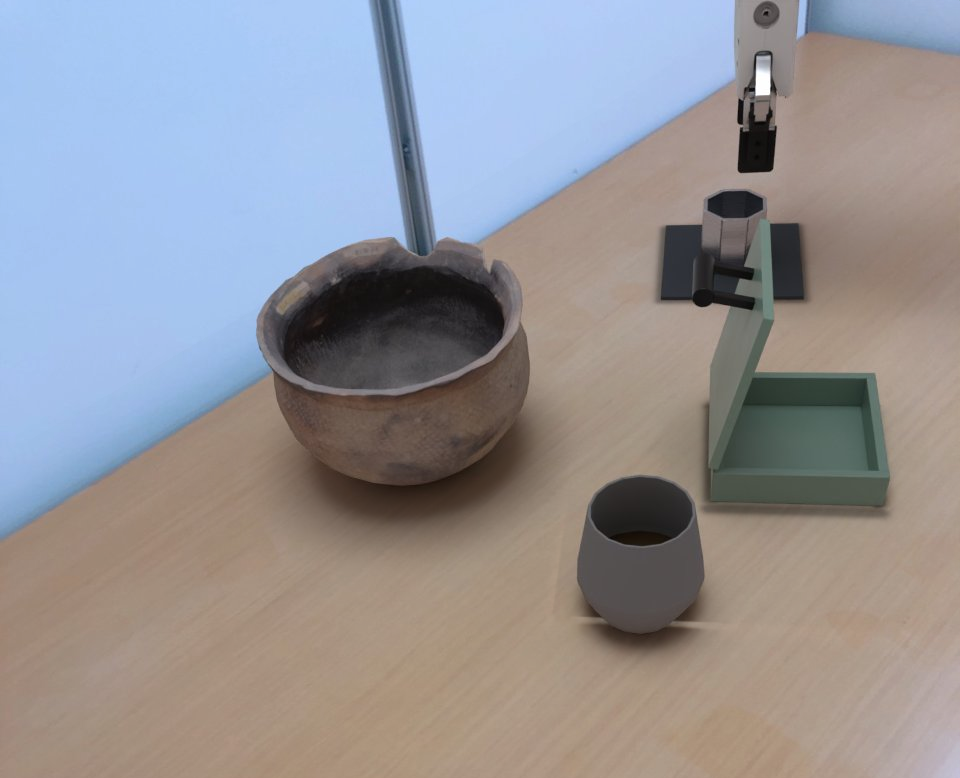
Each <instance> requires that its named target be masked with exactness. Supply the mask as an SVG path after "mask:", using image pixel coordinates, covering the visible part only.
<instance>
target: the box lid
mask: <svg viewBox="0 0 960 778" xmlns="http://www.w3.org/2000/svg"><path fill="white" fill-rule="evenodd" d="M770 224H771V221H770V219H766V220H765V219H760V220H759V223H758V226H757V229H756V232H755V235H754V238H753V241H752V244H751V247H750V250H749V253H748V256H747V259H746V262H745V264H744V266H739V265H733V264H728V263H723V262H717V261H715V260H714V257H713V256H712V255H711V254H708V253H701V254H699V255H698V256H696V258H695V259H694V264H693V290H692V300H691V301H692V303H693V304H694V306H696V307H699V308H707V307H709V306H711V305H712V304H716V305H721V306H727V307H729V309H728V312H727V315H726V318H725V321H724V324H723V327H722V329H721V332H720V336H719V339H718V342H717V345H716V347H715V350H714V352H713V356H712V359H711V363H710V366H709V405H708V406H709V413H708V414H709V415H708V461H707V462H708V465H707V466H708V469H710V470H711V469H716V470H718V468H719V466H720V463H721V460H722V458H723V455H724V452H725V450H726V447H727V444H728V442H729V439H730V436H731V434H732V431H733V428H734V426H735V423H736V421H737V418H738V415H739V413H740V410H741V407H742V405H743V402H744V399H745V397H746V394H747V391H748V389H749V386H750V383H751V381H752V378H753V376H754V373H755V372H756V370H757V367H758V365H759V362H760V359H761V357H762V354H763V351H764V349H765V346H766V343H767V341H768V338H769V335H770V333H771V331H772V327H773V326H774V322H775V307H774V304H775V303H774V300H773V280H772V258H771V237H770ZM715 274H718V275H724V276H729V277H735V278H740V279H739V282H738V285H737V288H736V291H735V294H733V293H727V292H722V291H717V290H714V282H715Z"/></svg>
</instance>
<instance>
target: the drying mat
mask: <svg viewBox="0 0 960 778" xmlns="http://www.w3.org/2000/svg"><path fill="white" fill-rule="evenodd" d="M799 225H800V224H799V223H798V222H795V223H794V222H792V223H789V222H788V223H786V222H785V223H770V237H771V258H772V280H773V301H774V300H776V301H777V300H778V301H779V300H781V301H783V300H804V299H805V291H804V279H803V278H804V277H803V266H802V265H803V264H802V254H801V253H802V251H801V239H800V229H799V228H800V226H799ZM664 234H665V235H664V246H663V247H664V249H663V264H662V275H661V276H662V277H661V292H660V300H661V301H693V300H692V290H693V264H694V259H695V258H696V256H698V255H699V254H701V237H702V224H666V225H665V233H664ZM739 279H740V278H735V277H729V276H724V275H718V274H715V282H714V290H717V291H722V292H727V293H733V294H735V291H736V288H737V285H738V282H739Z"/></svg>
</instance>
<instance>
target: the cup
mask: <svg viewBox="0 0 960 778" xmlns="http://www.w3.org/2000/svg"><path fill="white" fill-rule="evenodd" d="M582 529H583V530H582V535H581V540H580V545H579V550H578V554H577V560H576V561H577V562H576V582H577V585H578V587H579V588H580V590H581V593H582V595H583V597H584V599H585V601H586V602H587V603H588V604H589V605H590V607H591V608H592V609H593V610H594V611H595V612H596V613H597V614H598V615H599V616H600V617H601V618H602V619H603V620H604V621H605V622H607V624H609V625H610V626H611V627H613V628H615V629H617V630H620V631H621V632H624V633H631V634H641V635H642V634H649V633H655V632H658V631H660V630H662V629H665V628H667V627H669V626H670V625H671V624H672V623H673V622H674V621H676V619H677V618H678V617H680V616H681V615H682V614H683V613H684V612H685V611H686V610H687V609H688V608H689V607H690V606H691V605H692V604H693V603H694V602H695V600H697V597H698V595H699V593H700V591H701V588H702V586H703V583H704V581H705V577H706V576H705V575H706V574H705V561H704V553H703V548H702V540H701V535H700V528H699V521H698V515H697V509H696V502H695V501H694V499H693V498H692V497H691V495H690V493H689V492H688V490H686V489H685V488H684V487H683V486H681V485H680V484H679V483H677V482H676V481H673V480H671V479H667V478H664V477H662V476H659V475H649V474H636V475H627V476H622V477H619V478H616V479H614V480H611V481H609V482H607V483H605V484H604V485H603V486H602V487H600V488H599V489H598V490H597V491H595V492H594V494H593V495H592V497H591V499H590V501H589V502H588V505H587V509H586V515H585V519H584V525H583V528H582Z"/></svg>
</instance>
